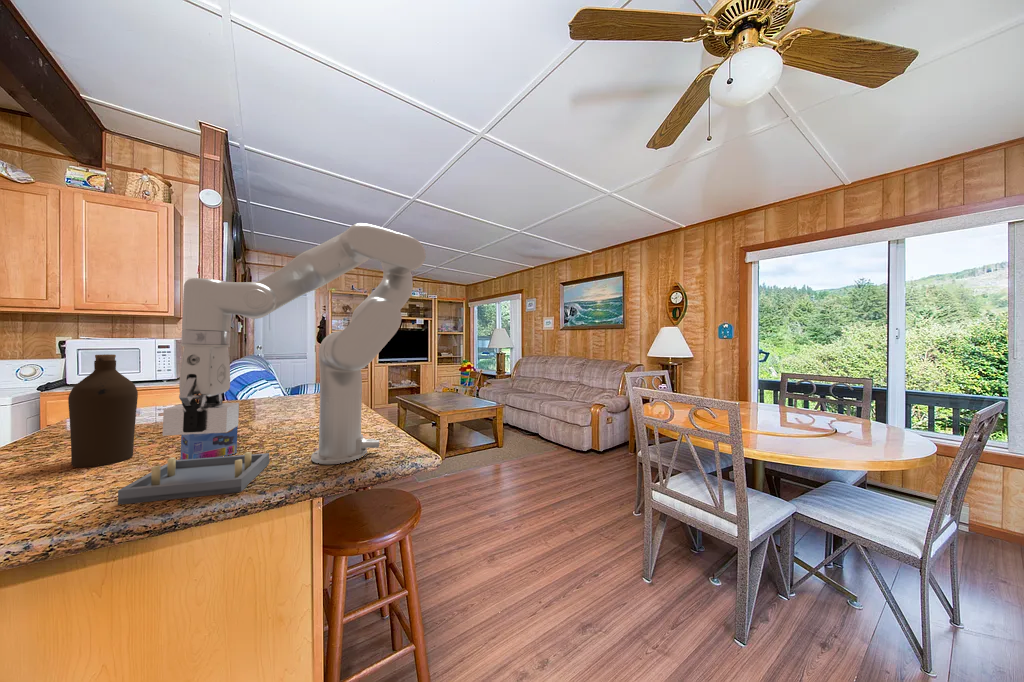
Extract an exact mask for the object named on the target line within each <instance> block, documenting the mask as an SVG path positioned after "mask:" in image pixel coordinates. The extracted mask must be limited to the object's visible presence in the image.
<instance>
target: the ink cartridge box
mask: <svg viewBox="0 0 1024 682" xmlns="http://www.w3.org/2000/svg"><path fill="white" fill-rule="evenodd" d="M223 401H224V399H223V397H222V402H223ZM238 427H239V425H238V426H237V427H235V428H233V429H232V430H230V431H228V432H226V433H207V434H186V435H180V460H184V459H197V458H210V457H223V456H228V455H229V456H233V455H232V454H234V455H236V454H237V453H238V452H237V451H238V450H237V449H238ZM235 453H236V454H235Z"/></svg>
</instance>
